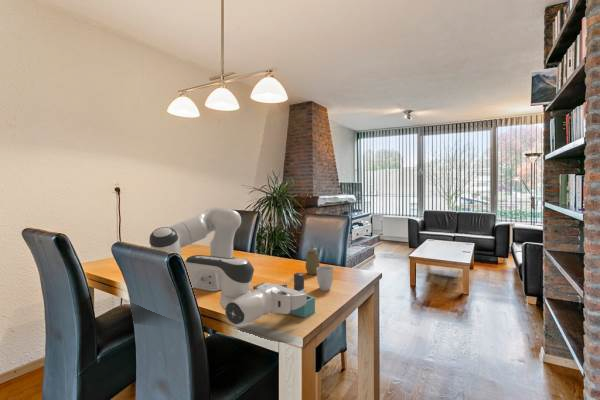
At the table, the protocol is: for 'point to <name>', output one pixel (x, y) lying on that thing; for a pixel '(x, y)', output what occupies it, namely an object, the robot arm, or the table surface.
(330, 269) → the cup
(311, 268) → the squeeze bottle
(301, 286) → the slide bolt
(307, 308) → the socket
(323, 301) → the table surface
